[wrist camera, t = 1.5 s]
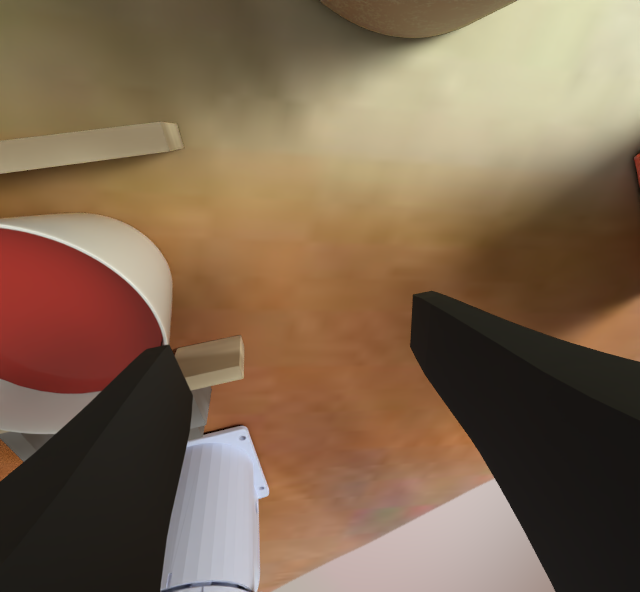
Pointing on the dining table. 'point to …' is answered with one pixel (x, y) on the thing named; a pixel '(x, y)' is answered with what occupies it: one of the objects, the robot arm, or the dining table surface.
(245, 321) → the dining table surface
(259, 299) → the dining table surface
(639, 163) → the cracker box
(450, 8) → the planter
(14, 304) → the candle
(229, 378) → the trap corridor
